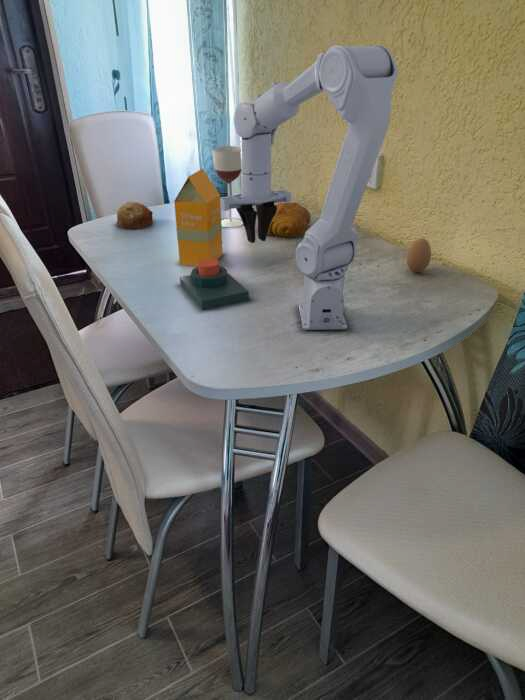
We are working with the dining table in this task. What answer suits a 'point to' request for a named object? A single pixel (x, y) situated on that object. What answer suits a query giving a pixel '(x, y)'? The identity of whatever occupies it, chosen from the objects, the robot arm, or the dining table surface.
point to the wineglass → (228, 172)
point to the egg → (418, 255)
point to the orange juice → (198, 220)
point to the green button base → (213, 289)
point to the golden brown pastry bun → (289, 220)
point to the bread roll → (134, 215)
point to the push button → (208, 267)
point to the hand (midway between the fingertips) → (256, 240)
